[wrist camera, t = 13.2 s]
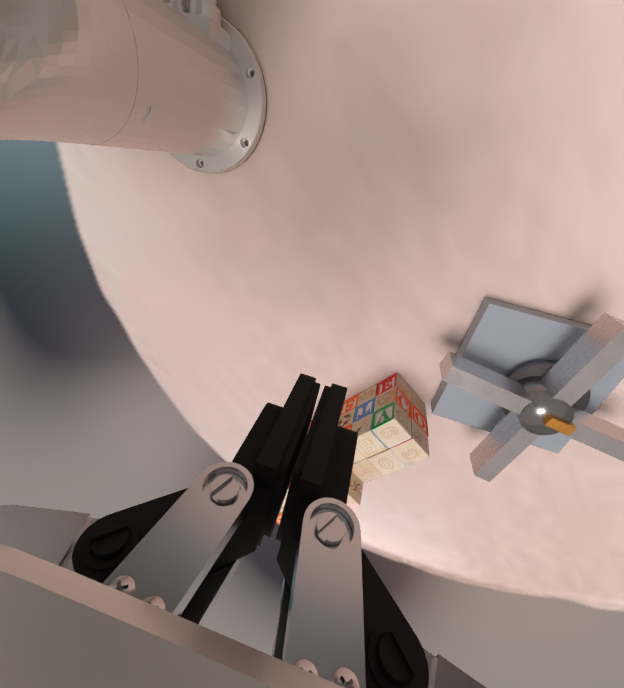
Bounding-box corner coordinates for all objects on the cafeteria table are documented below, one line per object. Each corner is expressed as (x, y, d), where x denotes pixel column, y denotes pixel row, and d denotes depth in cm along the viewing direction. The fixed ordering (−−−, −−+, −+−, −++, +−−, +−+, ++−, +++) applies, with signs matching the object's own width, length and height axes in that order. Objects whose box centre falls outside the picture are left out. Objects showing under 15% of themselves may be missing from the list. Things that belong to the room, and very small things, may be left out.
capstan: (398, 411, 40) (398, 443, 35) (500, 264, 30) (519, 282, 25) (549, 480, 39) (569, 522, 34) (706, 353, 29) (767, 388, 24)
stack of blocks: (396, 370, 41) (395, 439, 30) (426, 404, 42) (434, 482, 31) (283, 435, 51) (252, 503, 40) (309, 460, 52) (286, 534, 41)
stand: (485, 296, 34) (489, 304, 32) (638, 338, 32) (653, 348, 30) (430, 403, 41) (432, 414, 39) (552, 441, 40) (560, 455, 38)
